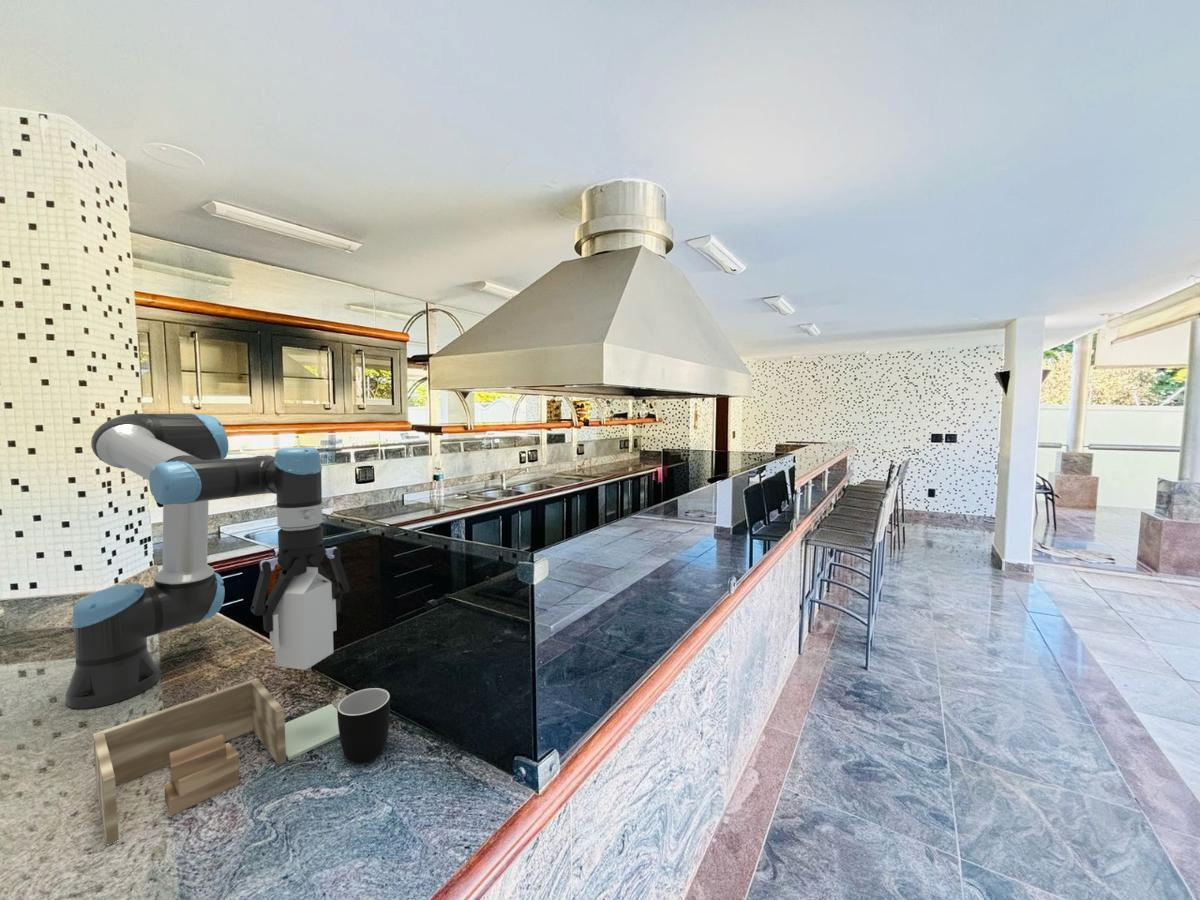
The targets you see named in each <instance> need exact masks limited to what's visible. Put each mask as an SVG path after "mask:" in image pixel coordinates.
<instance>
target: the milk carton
mask: <svg viewBox="0 0 1200 900" xmlns="http://www.w3.org/2000/svg"><path fill="white" fill-rule="evenodd" d="M323 580H325V581H327V582H323ZM331 581H332V580H331ZM331 581H329V580H328V579H326V578H325V577H323V576H322V575H320V574H319V573H318V568H317V567H307V571H306V573H302V574H300V575H296V576H295V575H294V576H293V578H292V580H291V581H290V582H289V584H288V586H287V588H286V589H285V591H284V593H283V595H282V597H281V599H280V601H279V603H278V605H277V607H276V609H275V611H274V612H276V613H277V614H278V626H279V648H277V649H274V661H275V662H274V663H275V667H280V668H281V667H282V668H289V669H296V670H303V671H307V670H308V669H310V668H311V667H313V666H314V665H315V666H316V665H317V664H318V663H319V662H321V661H322V660H324V659H326V658H327V657H329V656H331V655H332V654H334V651H335V650H334V631H333V618H332V585H331Z"/></svg>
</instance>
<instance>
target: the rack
mask: <svg viewBox="0 0 1200 900" xmlns="http://www.w3.org/2000/svg"><path fill="white" fill-rule="evenodd" d="M285 717H286V716H285V708H284V707H282V705H281V704H280V703H279V701H278V700H276V699H275V697H274V696H273V695H272V694H271V693H270V692H269V690H267V688H266V687H265V686H264V685H263V684H262V683H261V682H260V681H259V680H258V679H257V677H255V678H253V679H250V680H247V681H243V682H241V683H238V684H235V685H232V686H229V687H227V688H224V689H221V690H218V691H215V692H213V693H212V692H211V693H208V694H205V695H203V696H201V697H200V696H199V697H197V698H194V699H192V700H191V699H190V700H188V701H186V702H183V703H179V704H177V705H173V706H171V707H168V708H164V709H163V710H159V711H156V712H154V713H151V714H148V715H145V716H142V717H138V718H135V719H133V720H130V721H127V722H124V723H122V724H118V725H115V726H112V727H109V728H106V729H104V730H100V731H97V732H95V733H93V735H92V736H93V737H92V738H93V753H94V771H95V785H96V795H97V799H98V805H99V809H100V815H101V820H102V826H104V827H103V831H105V832H104V836H106V837H105V840H106V841H107V842H106V845H107V844H110V843H113V842H115V841H117V840H120V839H119V823H118V805H117V791H116V790H117V789H116V787H119V786H120V785H122V784H125V783H127V782H130V781H132V780H135V779H137V778H140V777H142V776H145V775H147V774H150V773H152V772H155V771H156V770H159V769H162V768H164V767H167V766H170V755H169V753H171V752H174V751H177V750H179V749H182V748H185V747H188V746H191V745H194V744H196V743H199V742H202V741H205V740H208V739H210V738H213V737H216V736H219V735H222V734H223V738H224V741H225V742H227V741H230V740H233V739H235V738H237V737H241V736H243V735H245V734H247V733H250V732H252V731H253V732H254V733H255V735H256V736H257V737H258V739H259V740H260V742H261V743H262V744H263V746H264V747H265V748H266V750H267V751H268V753H269V754H270V755H271V757H272V758H273V760H274V761H275V763H276V764H277V765H278V766H280V765H282V764H284V763H286V762H287V758H286V744H285V723H286V722H285V721H286V720H285ZM117 842H118V841H117ZM115 843H116V842H115ZM113 844H114V843H113Z"/></svg>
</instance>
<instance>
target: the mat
mask: <svg viewBox="0 0 1200 900" xmlns="http://www.w3.org/2000/svg"><path fill="white" fill-rule="evenodd" d="M337 738H340V734H339V727H338V716H337V707H335V706H334V704H332V703H330V704H328V705H326V706H323V707H321V708H319V709H316V710H313V711H311V712H309V713H306V714H303V715H302V716H298V717H296V718H293V719H292V720H289V721H288V722H287V721H286V722H285V744H286V760H287V761H291V760H292V759H295V758H297V757H299V756H302V755H304V754H306V753H307V752H310V751H311V750H314V749H316V748H318V747H320V746H322V745H325V744H326V743H328V742H331V741H333V740H336V739H337Z"/></svg>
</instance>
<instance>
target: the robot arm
mask: <svg viewBox="0 0 1200 900" xmlns="http://www.w3.org/2000/svg"><path fill="white" fill-rule="evenodd" d="M90 446H91V450H92V452H93V453H94V455H95V456H96V457H97V458H98V459H99V460H100V461H102V462H103V463H104V464H106V465H108V466H111V467H113V468H117V469H127V470H129V471H130V472H132V473H134V474H136V475H137V476H140V477H141V478H143V479H144V480H147V481H148V485H149V490H150V493H151V495H152V496H153V499H154V501H156V502H157V504H160V505H162V507H163V509H162V569H161V570H160V571H158V572H157V573H156V574H155V575H154V577H153V580H154V581H153V585H152V586H147V587H145V586H144V585H143V584H142V583H137V582H136V583H127V584H124V585H123V584H120V585H116V586H111V587H108V588H105V589H102V590H99V591H96V592H94V593H90V594H89V595H87V596H85V597H84V598H83V597H82V599H80V600H79V601H77V603H76V604H75V605H74V606H73V610H72V622H71V626H72V628H73V640H74V643H73V644H74V655H75V656H74V657H75V658H74V659H75V668H74V671H73V673H72V677H71V679H70V681H69V684H68V688H67V690H66V691H65V704H66V706H67V707H68V708H71V709H79V710H80V709H81V710H82V709H92V708H94V709H95V708H100V707H104V706H107V705H112V704H116V703H118V702H121V701H122V702H123V701H125V700H128V699H130V698H133V697H135V696H137V695H139V694H141V693H143V692H145V691H147V690H149V689H150V688H152V687H153V686H154V685H155V684H156V683H157V682H159V681H158V680H159V679H160V678H159V676H160V675H159V668H158V666H157V664H156V663H155V661H154V659H153V657H152V655H151V654H150V652H149V651H148V643H147V642H148V638H149V637H151V636H155V635H157V634H162V633H165V632H169V631H172V630H175V629H178V628H179V629H180V628H183V627H185V626H189V625H193V624H194V625H196V624H198V623H200V622H201V621H205V620H208V619H210V618H212V617H214V616H215V615H216V614H218V613H219V612H220V610H221V608H222V607H223V604H224V600H225V594H226V593H225V592H226V591H225V586H224V579H223V578H222V576H221V574H219V573H218V572H215V568H214V567H213V566H211V565H209V564H208V546H209V545H208V544H209V543H208V541H209V539H208V537H209V533H208V532H209V501H213V500H214V501H215V500H223V499H230V498H239V497H240V498H241V497H248V496H255V495H266V494H275V495H276V513H277V515H276V516H277V521H276V522H277V527H279V529H278V531H277V546H278V548H277V549H278V553H277V555H276V556H275V557H274V558H270V559H264V558H263V559H260V560H259V561H258V566H259V575H258V579H257V583H256V586H255V591H254V594H253V599H252V601H251V602H252V603H251V606H250V612H251V613H252V614H253V615H255V616H258V617H259V616H262V625H263V630H264V631H265V632H266V633H267V634H268V633H269V645H270V646H271V647H272V649H274V650H275V649H277V648H279V626H278V614H277V613H276V612H274V611H275V609H276V607H277V605H278V603H279V601H280V599H281V597H282V595H283V593H284V591H285V589H286V588H287V586H288V584H289V582H290V581H291V580H292V578H293V576H294V575H295V576H296V575H300V574H302V573H306V571H307V567H317V568H318V573H319V574H320V575H322V576H323V577H325V578H326V579H328V580H329V581H331V585H332V618H333V632H335V631H337V614H338V613H340V612H341V611H342V609H341V608H342V607H341V599H342V598H343V596H344V594H346V593H349V592H350V591H351V588H350V585H349V582H348V579H347V575H346V573H345V570H344V566H343V564H342V560H341V554H342V553H341V552H342V551H341V549H340V548H339V547H337V546H331V547H329V548H326V547H325V546H324V527H323V526H322V525H321V524H322V523H323V503H322V501H323V500H322V499H323V497H322V495H323V494H322V493H323V492H322V491H323V490H322V487H323V486H322V483H323V482H322V469H323V468H322V464H321V454H320V451H319V450H318V449H317V448H315V447H284V448H279V449H277V450H276V452H275V453H274V456H273V455H269V454H268V455H267V454H265V455H255V456H252V457H237V458H236V457H235V458H227V455H228V453H229V439H228V435H227V431H226V429H225V428H224V425H222V422H221V421H220V420H219V419H217V418H216V417H215V416H213V415H210V414H198V413H129V414H125V415H123V414H122V415H119V416H117V417H114V418H111V419H110V420H107V421H105V422H104V423H102V424H101V425H99V427H98V428H96V429H95V431H94V432H93V434H92V437H91V442H90ZM325 556H326V557H327V559H329V562H330V564H331V569H332V571H333V573H334V577H335V579H336V584H337V585H338V587H337V586H336V585H335V583H334V582H333V581H332V579H331V578H330V576H329V575H328V573H327V572H326V571H325V568H324V566H322V565H321V562H322V561H323V560H324V557H325ZM277 565H279V566H280V567H281V571H280V572H279V575H278V578H277V581H276V582H275V584H274V586H273V588H272V590H271V592H270V593H269V596H268V597H267V594H268V589H269V586H270V582H271V580H272V579H271V577H272V571H274V570H275V567H276V566H277ZM323 582H327V581H325V580H323ZM266 597H267V599H266Z"/></svg>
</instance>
